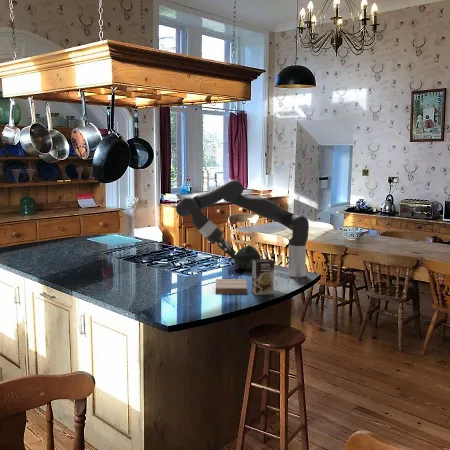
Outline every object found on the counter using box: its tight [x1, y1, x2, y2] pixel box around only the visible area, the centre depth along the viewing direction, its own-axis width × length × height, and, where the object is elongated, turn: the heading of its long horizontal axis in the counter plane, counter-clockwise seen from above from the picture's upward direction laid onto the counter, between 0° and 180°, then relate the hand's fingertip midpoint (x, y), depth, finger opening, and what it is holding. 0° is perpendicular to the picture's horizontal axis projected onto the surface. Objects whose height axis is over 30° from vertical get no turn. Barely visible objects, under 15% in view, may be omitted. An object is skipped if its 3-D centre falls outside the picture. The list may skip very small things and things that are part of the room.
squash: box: [233, 245, 262, 272], centre depth 289 cm, size 14×15×15 cm
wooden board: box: [215, 278, 248, 295], centre depth 250 cm, size 17×15×2 cm
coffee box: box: [251, 258, 275, 296], centre depth 242 cm, size 9×6×16 cm
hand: (234, 255), depth 241 cm, fingers open, 8 cm apart
